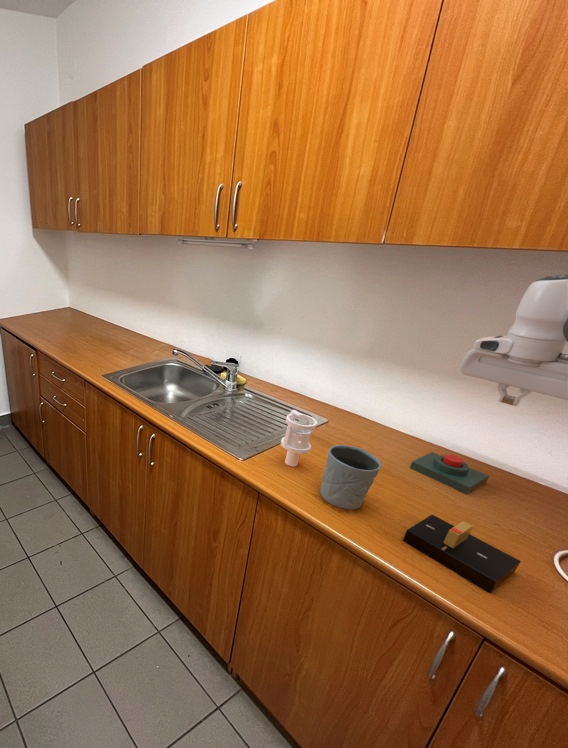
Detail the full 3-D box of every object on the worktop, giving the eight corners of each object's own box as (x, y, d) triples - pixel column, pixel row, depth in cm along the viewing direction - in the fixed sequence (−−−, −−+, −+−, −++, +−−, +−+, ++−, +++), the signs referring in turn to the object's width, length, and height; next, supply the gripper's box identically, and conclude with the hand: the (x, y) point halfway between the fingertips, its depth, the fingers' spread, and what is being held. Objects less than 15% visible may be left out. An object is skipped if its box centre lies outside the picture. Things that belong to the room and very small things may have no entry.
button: (463, 465, 101) (466, 460, 100) (456, 469, 100) (459, 463, 99) (446, 458, 104) (448, 452, 103) (439, 462, 103) (441, 456, 102)
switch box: (485, 482, 100) (492, 469, 99) (466, 494, 96) (472, 481, 95) (429, 458, 110) (434, 446, 109) (409, 468, 106) (414, 455, 105)
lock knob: (457, 533, 81) (463, 519, 80) (466, 539, 80) (474, 524, 78) (442, 543, 79) (449, 528, 78) (452, 548, 78) (459, 534, 76)
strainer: (292, 454, 113) (303, 408, 107) (311, 468, 107) (324, 420, 101) (271, 457, 112) (281, 411, 106) (289, 472, 105) (301, 423, 100)
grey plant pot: (316, 480, 102) (327, 440, 98) (363, 491, 98) (377, 451, 93) (318, 504, 94) (330, 462, 89) (370, 518, 90) (385, 474, 85)
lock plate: (514, 572, 76) (521, 560, 75) (489, 593, 72) (496, 581, 71) (427, 524, 88) (432, 513, 86) (402, 540, 84) (407, 529, 82)
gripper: (610, 358, 81) (580, 418, 86) (479, 335, 98) (460, 386, 103) (599, 364, 78) (569, 425, 84) (467, 339, 96) (448, 391, 101)
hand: (508, 403), depth 94 cm, fingers closed
